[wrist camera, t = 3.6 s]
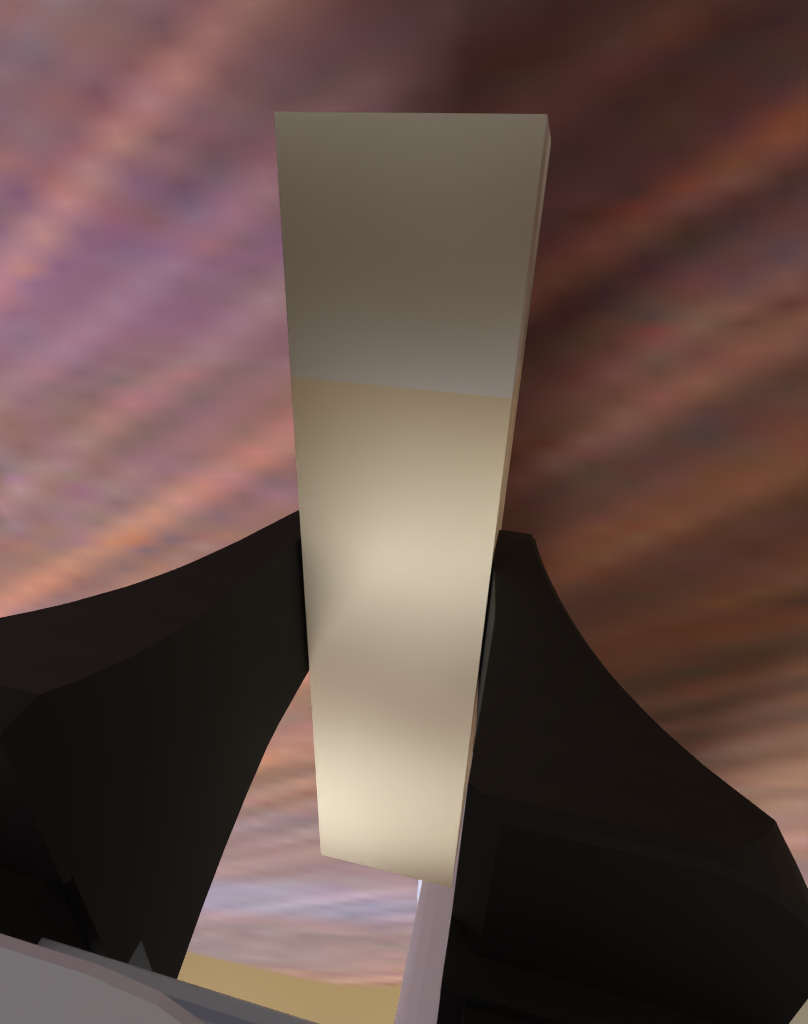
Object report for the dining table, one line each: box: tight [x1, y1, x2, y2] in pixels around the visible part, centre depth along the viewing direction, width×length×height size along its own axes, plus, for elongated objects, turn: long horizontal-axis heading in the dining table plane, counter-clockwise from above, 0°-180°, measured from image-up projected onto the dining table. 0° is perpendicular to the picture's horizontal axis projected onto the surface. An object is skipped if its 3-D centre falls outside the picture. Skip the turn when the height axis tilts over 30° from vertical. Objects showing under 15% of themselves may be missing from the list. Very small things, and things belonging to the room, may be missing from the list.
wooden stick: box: [274, 112, 551, 888], centre depth 11 cm, size 14×3×4 cm, turn 178°
